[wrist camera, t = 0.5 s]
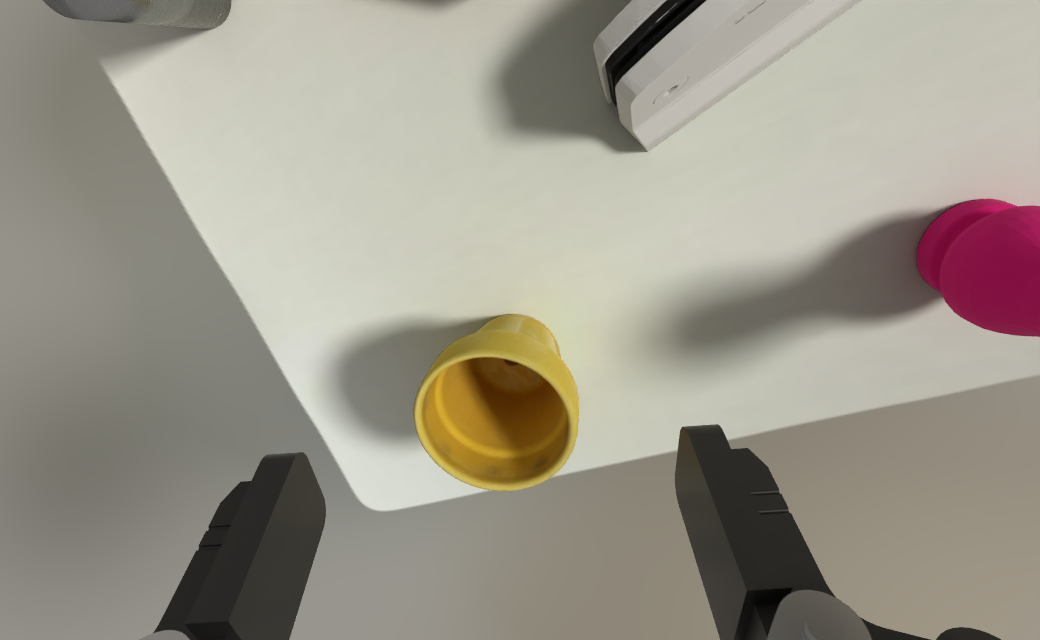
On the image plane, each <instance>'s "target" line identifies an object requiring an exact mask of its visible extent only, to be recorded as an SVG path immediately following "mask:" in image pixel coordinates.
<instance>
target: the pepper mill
mask: <svg viewBox="0 0 1040 640" xmlns="http://www.w3.org/2000/svg"><path fill="white" fill-rule="evenodd" d="M917 266H918V270H919V272H920V274H921V276H922V278H923V279H924V280H925V281H926V282H927V283H928V284H929V285H931V286H932V287H933V288H935V289H936V290H938V291H939V292H941V293H942V295H943V297H944V299H945V302H946V303H947V304H948V305H949V307H950V308H951V309H952V310H953V311H954V312H955V313H956V314H957V315H959V316H960V317H962V318H963V319H965V320H967V321H969V322H971V323H973V324H975V325H977V326H979V327H981V328H983V329H987V330H991V331H995V332H999V333H1004V334H1011V335H1019V336H1038V337H1040V206H1019V207H1018V206H1015V205H1013V204H1010V203H1007V202H1004V201H1000V200H995V199H978V200H973V201H968V202H965V203H962V204H959V205H957V206H955V207H953V208H951V209H950V210H948V211H946V212H944V213H943V214H942V215H941V216H939V217H938V218H937V219H936V220H935V221H934V222H933V223H932V224H931V225H930V226H929V227H928V229H927V230H926V232H925V233H924V235H923V237H922V239H921V241H920V243H919V246H918V250H917Z"/></svg>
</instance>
